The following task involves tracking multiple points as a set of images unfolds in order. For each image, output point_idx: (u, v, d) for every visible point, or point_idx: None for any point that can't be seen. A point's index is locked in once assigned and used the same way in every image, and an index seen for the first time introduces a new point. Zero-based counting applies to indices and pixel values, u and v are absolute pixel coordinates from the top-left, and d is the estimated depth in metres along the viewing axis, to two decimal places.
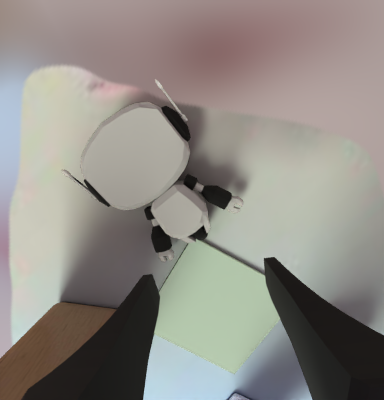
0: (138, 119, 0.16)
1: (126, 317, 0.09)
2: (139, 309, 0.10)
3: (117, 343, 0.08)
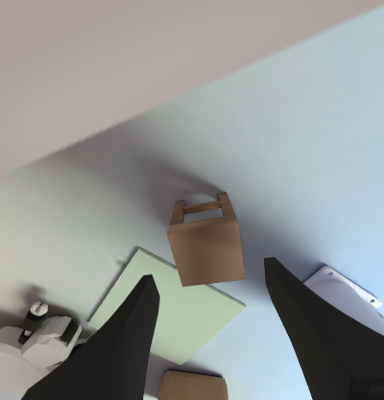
0: None
1: (126, 317, 0.09)
2: (139, 309, 0.10)
3: (117, 343, 0.08)
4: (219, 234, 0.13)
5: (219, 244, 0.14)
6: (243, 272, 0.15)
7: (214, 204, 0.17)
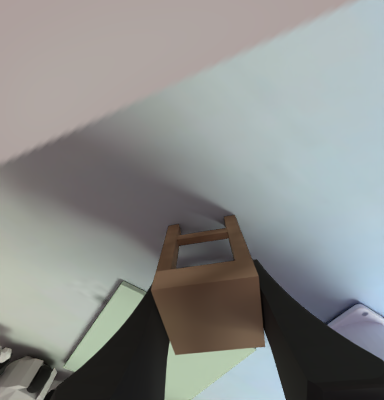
0: None
1: (147, 314, 0.09)
2: None
3: (142, 340, 0.08)
4: (229, 291, 0.09)
5: (228, 303, 0.09)
6: (262, 338, 0.10)
7: (219, 233, 0.13)
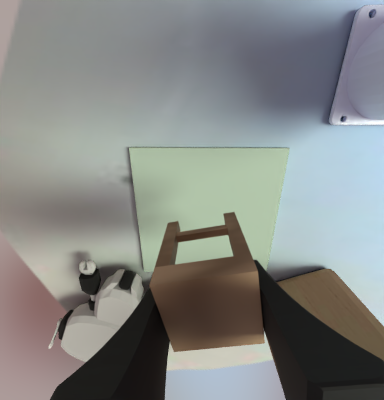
0: (74, 351, 0.24)
1: (147, 315, 0.09)
2: None
3: (142, 340, 0.08)
4: (228, 286, 0.09)
5: (227, 299, 0.09)
6: (262, 335, 0.10)
7: (218, 230, 0.13)
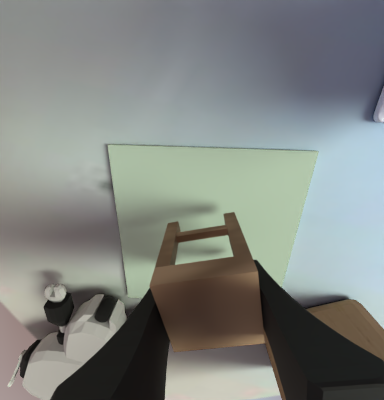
0: (39, 392, 0.20)
1: (147, 315, 0.09)
2: None
3: (141, 341, 0.08)
4: (228, 286, 0.09)
5: (228, 299, 0.09)
6: (262, 335, 0.10)
7: (218, 230, 0.13)
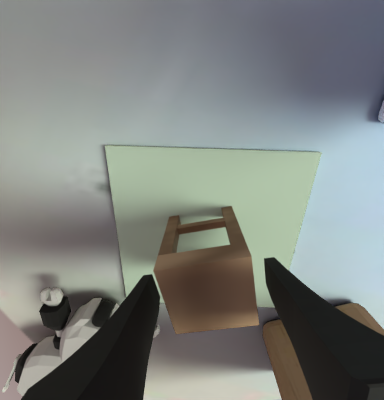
0: None
1: (126, 317, 0.09)
2: (139, 309, 0.10)
3: (117, 343, 0.08)
4: (225, 271, 0.10)
5: (224, 283, 0.10)
6: (256, 317, 0.11)
7: (216, 222, 0.13)
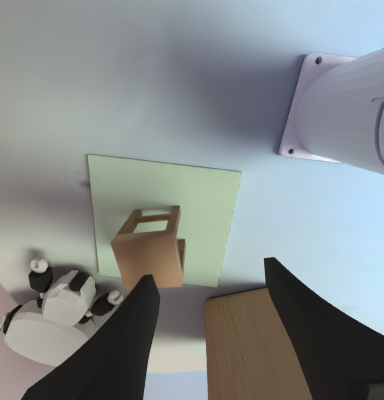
0: (17, 347, 0.24)
1: (126, 317, 0.09)
2: (139, 309, 0.10)
3: (117, 343, 0.08)
4: (157, 246, 0.15)
5: (157, 254, 0.15)
6: (180, 280, 0.16)
7: (164, 216, 0.19)
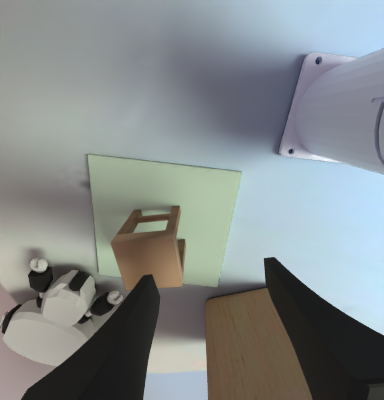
0: (16, 347, 0.24)
1: (126, 317, 0.09)
2: (139, 309, 0.10)
3: (117, 343, 0.08)
4: (157, 246, 0.15)
5: (157, 254, 0.15)
6: (180, 280, 0.16)
7: (164, 216, 0.19)
